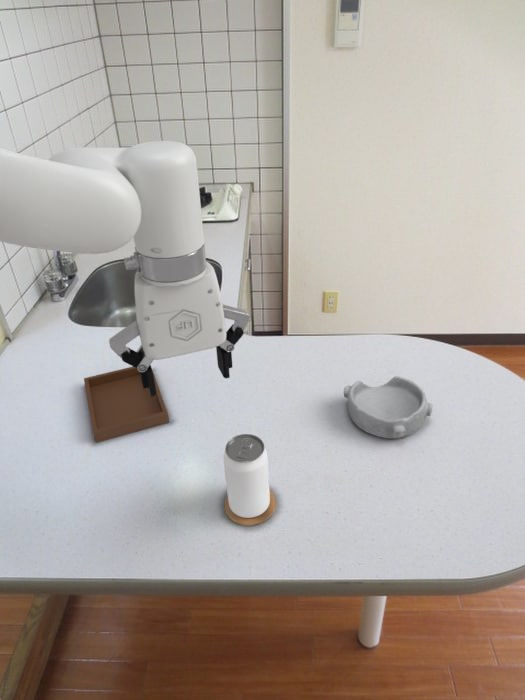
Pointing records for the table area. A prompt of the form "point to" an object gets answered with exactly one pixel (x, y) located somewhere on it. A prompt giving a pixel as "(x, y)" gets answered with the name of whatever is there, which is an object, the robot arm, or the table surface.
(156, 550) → the table surface
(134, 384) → the tray
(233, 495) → the can
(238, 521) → the coaster
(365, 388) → the dish
